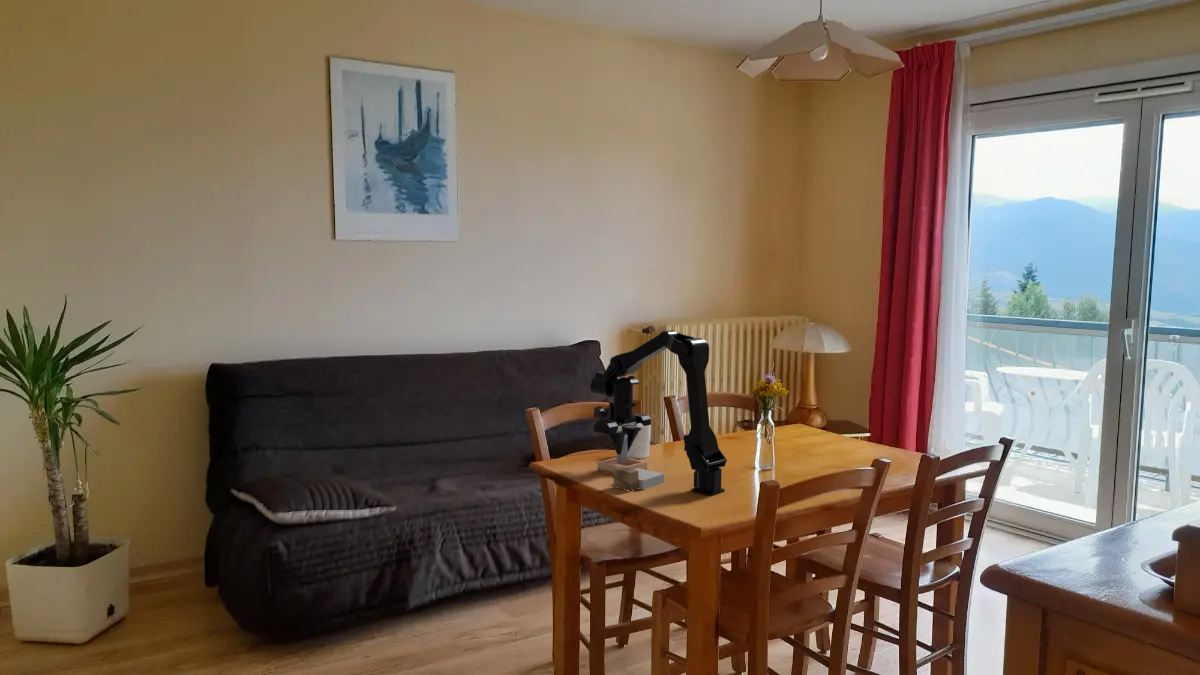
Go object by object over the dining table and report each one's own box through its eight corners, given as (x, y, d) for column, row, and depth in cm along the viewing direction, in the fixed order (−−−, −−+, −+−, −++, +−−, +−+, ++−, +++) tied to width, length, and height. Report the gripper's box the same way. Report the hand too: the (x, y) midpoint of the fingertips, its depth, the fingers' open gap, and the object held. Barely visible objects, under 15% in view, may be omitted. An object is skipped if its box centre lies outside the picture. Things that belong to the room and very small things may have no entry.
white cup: (655, 455, 251) (655, 423, 251) (643, 460, 245) (643, 427, 244) (632, 452, 255) (632, 420, 255) (620, 457, 249) (620, 424, 248)
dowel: (629, 461, 233) (629, 434, 232) (622, 463, 231) (622, 435, 230) (621, 460, 235) (622, 432, 234) (614, 461, 233) (615, 434, 232)
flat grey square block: (664, 484, 220) (664, 473, 220) (643, 491, 213) (643, 480, 213) (638, 478, 226) (638, 468, 226) (617, 485, 219) (617, 474, 219)
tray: (646, 470, 233) (647, 462, 233) (623, 476, 226) (623, 468, 226) (620, 464, 240) (621, 456, 240) (597, 470, 233) (597, 462, 233)
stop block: (638, 489, 214) (638, 470, 213) (630, 491, 212) (630, 472, 211) (621, 484, 218) (621, 466, 217) (613, 487, 216) (613, 468, 215)
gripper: (623, 392, 243) (623, 443, 245) (579, 399, 230) (579, 453, 231) (652, 396, 236) (651, 449, 237) (608, 404, 222) (608, 460, 224)
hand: (622, 453), depth 233 cm, fingers closed on dowel, 3 cm apart
